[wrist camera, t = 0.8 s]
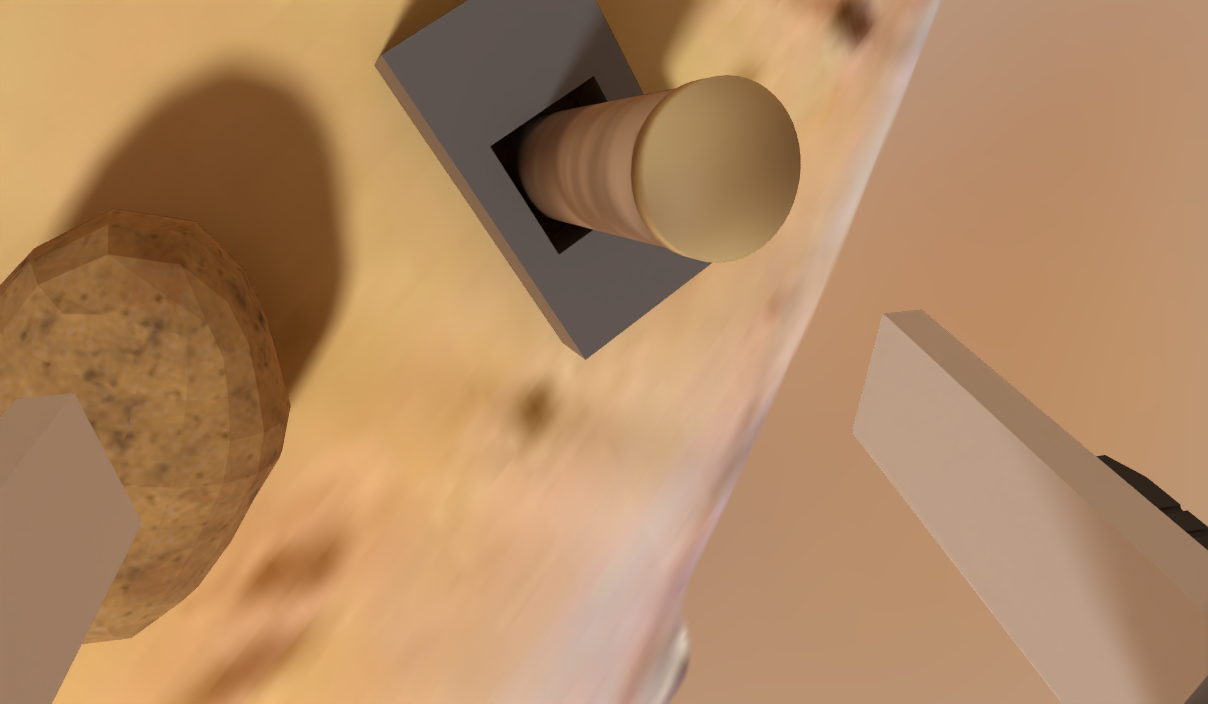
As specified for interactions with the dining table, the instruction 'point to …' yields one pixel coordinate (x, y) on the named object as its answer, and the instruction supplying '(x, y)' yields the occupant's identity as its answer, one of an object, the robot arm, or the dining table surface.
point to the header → (503, 103)
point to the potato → (153, 388)
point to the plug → (666, 167)
